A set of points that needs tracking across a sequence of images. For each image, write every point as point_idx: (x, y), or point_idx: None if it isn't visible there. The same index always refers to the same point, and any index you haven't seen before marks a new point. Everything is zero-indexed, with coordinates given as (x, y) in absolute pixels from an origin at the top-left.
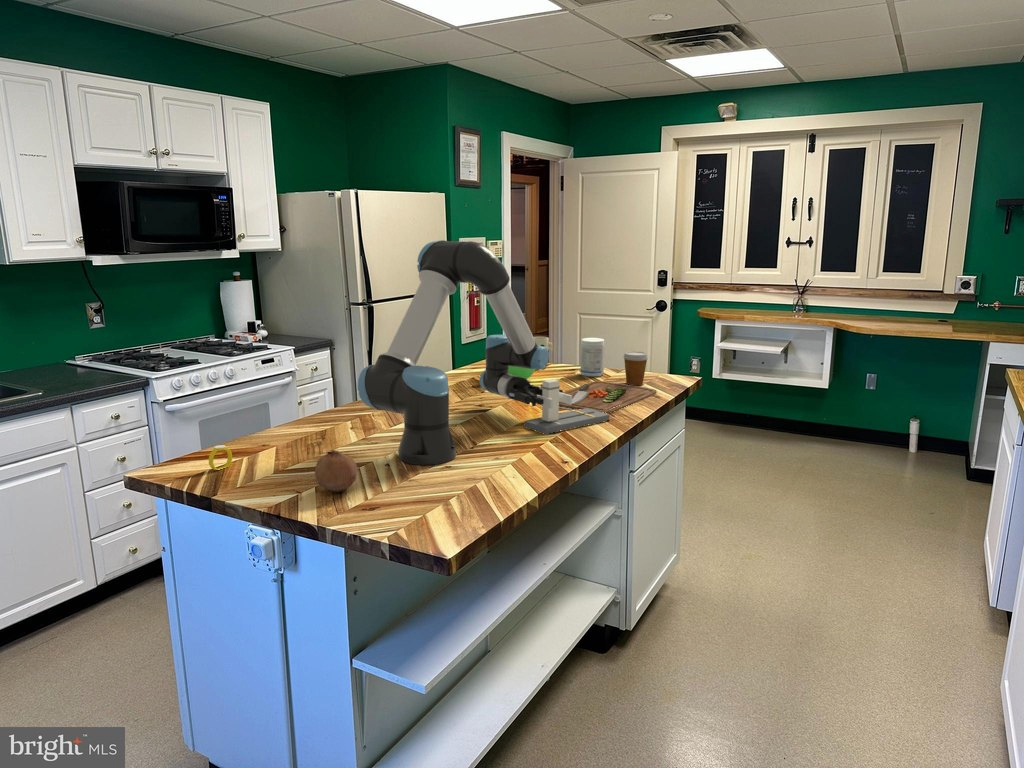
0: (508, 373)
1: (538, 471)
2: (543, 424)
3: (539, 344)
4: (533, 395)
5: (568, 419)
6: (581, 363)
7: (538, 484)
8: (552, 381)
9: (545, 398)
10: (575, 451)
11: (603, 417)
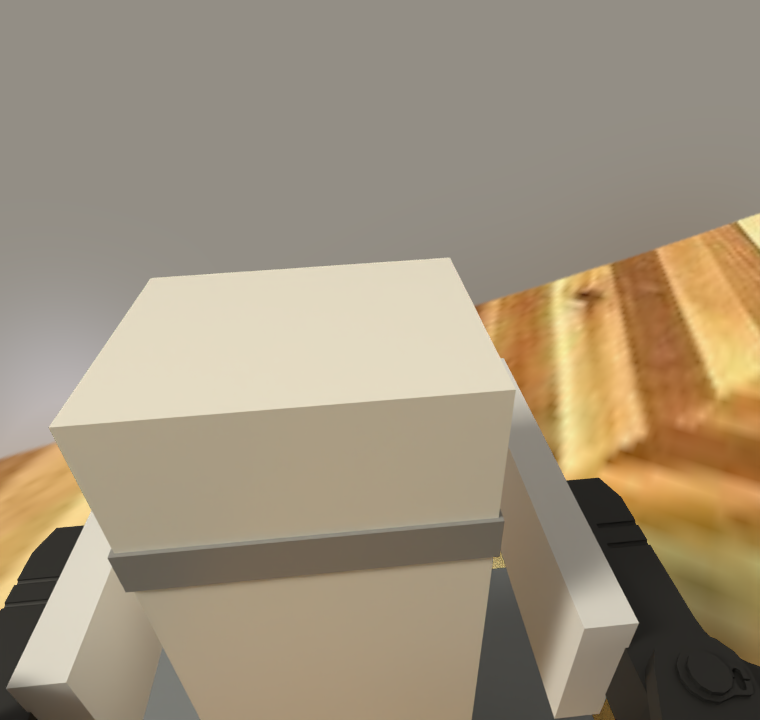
0: None
1: (710, 277)
2: (505, 676)
3: None
4: (724, 665)
5: (146, 709)
6: None
7: (724, 239)
8: (317, 284)
9: (537, 433)
10: (494, 342)
11: None
